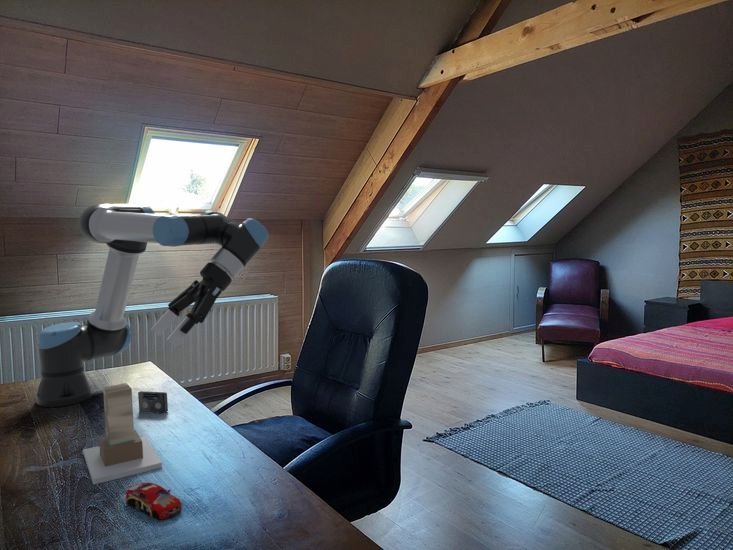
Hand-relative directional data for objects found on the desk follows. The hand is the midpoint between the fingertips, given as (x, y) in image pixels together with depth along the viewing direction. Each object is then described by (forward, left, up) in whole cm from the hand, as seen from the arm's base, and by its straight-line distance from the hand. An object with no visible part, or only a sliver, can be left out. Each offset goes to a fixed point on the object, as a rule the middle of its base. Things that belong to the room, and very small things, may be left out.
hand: (162, 337), depth 130 cm
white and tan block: (+8, -8, -27) cm, 30 cm away
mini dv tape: (-23, -18, -28) cm, 40 cm away
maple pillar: (+8, -8, -22) cm, 25 cm away
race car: (+25, +11, -28) cm, 39 cm away
